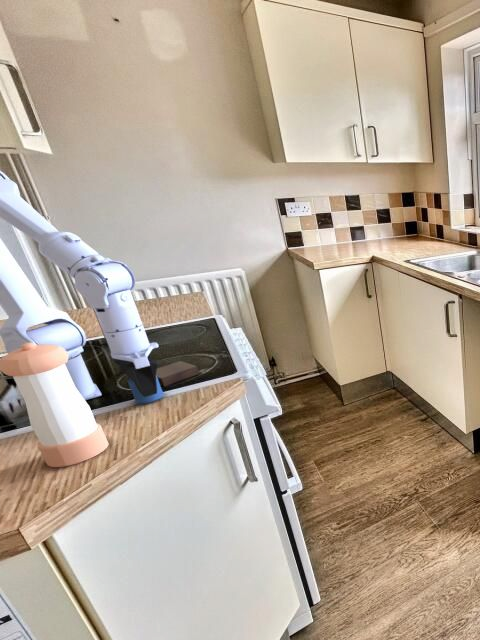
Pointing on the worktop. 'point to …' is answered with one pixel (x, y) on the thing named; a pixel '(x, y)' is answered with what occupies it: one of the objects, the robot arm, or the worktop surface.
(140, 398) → the bottle
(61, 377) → the pepper shaker
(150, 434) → the worktop surface
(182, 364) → the block
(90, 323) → the worktop surface
